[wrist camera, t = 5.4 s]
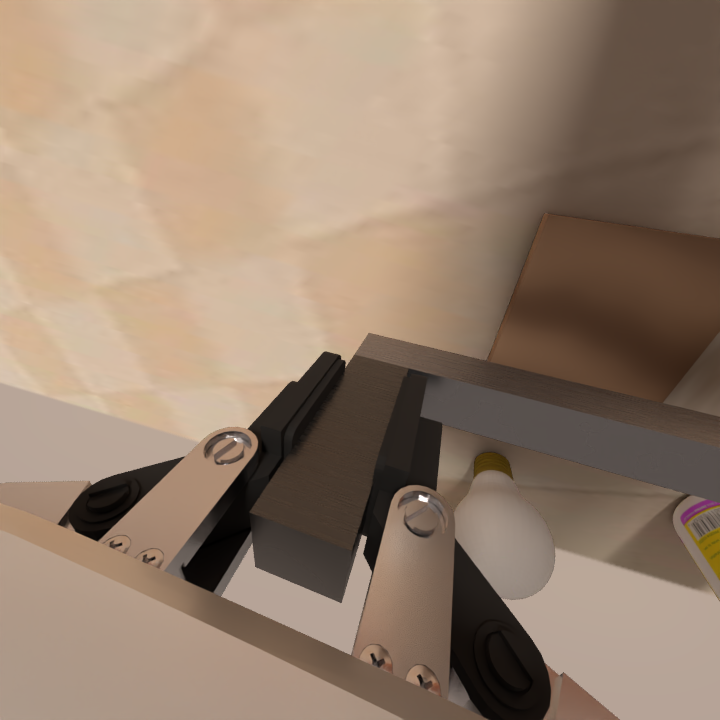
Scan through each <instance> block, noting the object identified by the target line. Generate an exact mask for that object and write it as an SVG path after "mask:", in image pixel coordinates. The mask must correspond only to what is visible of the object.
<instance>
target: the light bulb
mask: <svg viewBox="0 0 720 720" xmlns="http://www.w3.org/2000/svg"><path fill="white" fill-rule="evenodd" d="M454 518H455V538H456V540H457V541H458V542H459V544H460V545H461V546H462V548H463V549H464V550H465V552H466V553H467V554H468V556H469V557H470V558H471V560H472V561H473V562H474V564H475V565H476V566H477V567H478V569H479V570H480V571H481V573H482V574H483V575H484V577H485V578H486V579H487V581H488V582H489V583H490V585H491V586H492V587H493V589H494V590H495V591H496V593H497V594H498V595H499V597H500V598H503V599H511V600H515V599H523V598H527V597H529V596H532V595H534V594H536V593H537V592H538V591H540V590H541V589H542V588H543V587H544V586H545V585H546V583H547V582H548V580H549V579H550V577H551V574H552V572H553V568H554V563H555V548H554V542H553V538H552V535H551V532H550V530H549V528H548V526H547V524H546V522H545V520H544V519H543V517H542V516H541V515H540V513H539V512H538V511H537V510H536V509H535V508H534V507H533V506H532V505H531V504H530V503H529V502H528V501H527V500H526V499H524V498H523V496H522V495H521V494H520V491H519V489H518V487H517V485H516V484H515V482H514V480H513V477H512V472H511V468H510V464H509V461H508V460H507V459H506V458H505V457H504V456H502V455H500V454H497V453H492V452H488V453H483V454H481V455H479V456H478V457H477V458H476V459H475V461H474V479H473V481H472V483H471V486H470V490H469V493H468V494H467V495H466V496H465V497H464V498H463V499H462V500H461V502H460V503H459V504H458V506H457V507H456V509H455V511H454Z"/></svg>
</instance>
